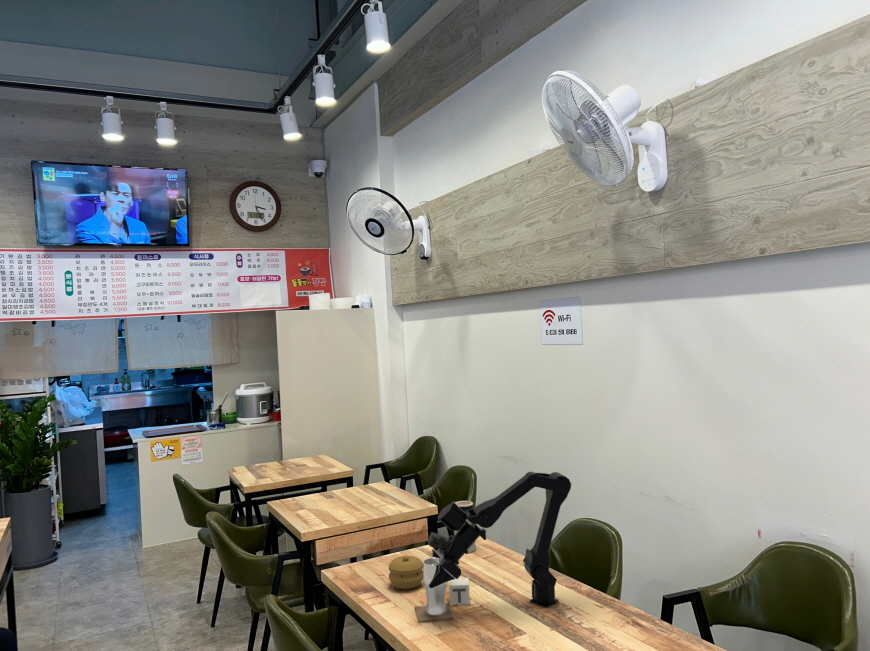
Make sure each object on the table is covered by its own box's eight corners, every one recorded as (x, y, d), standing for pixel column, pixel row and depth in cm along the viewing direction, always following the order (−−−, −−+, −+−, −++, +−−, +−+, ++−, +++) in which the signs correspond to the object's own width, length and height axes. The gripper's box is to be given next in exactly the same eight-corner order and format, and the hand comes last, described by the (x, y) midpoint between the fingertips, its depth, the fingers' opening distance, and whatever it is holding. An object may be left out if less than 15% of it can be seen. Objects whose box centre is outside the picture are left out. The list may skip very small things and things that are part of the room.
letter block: (469, 605, 197) (468, 585, 198) (449, 605, 198) (449, 585, 198) (469, 596, 204) (468, 577, 204) (450, 597, 204) (449, 578, 204)
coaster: (447, 605, 198) (447, 603, 198) (453, 619, 188) (453, 617, 188) (414, 608, 196) (414, 606, 196) (418, 622, 186) (418, 620, 186)
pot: (384, 592, 210) (383, 561, 210) (395, 578, 222) (394, 549, 222) (419, 594, 207) (418, 562, 208) (428, 580, 219) (427, 550, 219)
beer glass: (447, 617, 188) (445, 565, 188) (423, 617, 188) (421, 565, 189) (448, 607, 195) (446, 557, 195) (425, 607, 195) (423, 557, 196)
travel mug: (479, 550, 247) (477, 503, 247) (462, 555, 243) (460, 506, 243) (468, 545, 254) (466, 499, 254) (451, 549, 250) (449, 502, 250)
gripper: (438, 515, 202) (404, 553, 200) (448, 532, 184) (411, 575, 182) (463, 538, 203) (430, 577, 201) (476, 557, 185) (440, 600, 183)
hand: (427, 581), depth 192 cm, fingers open, 9 cm apart
